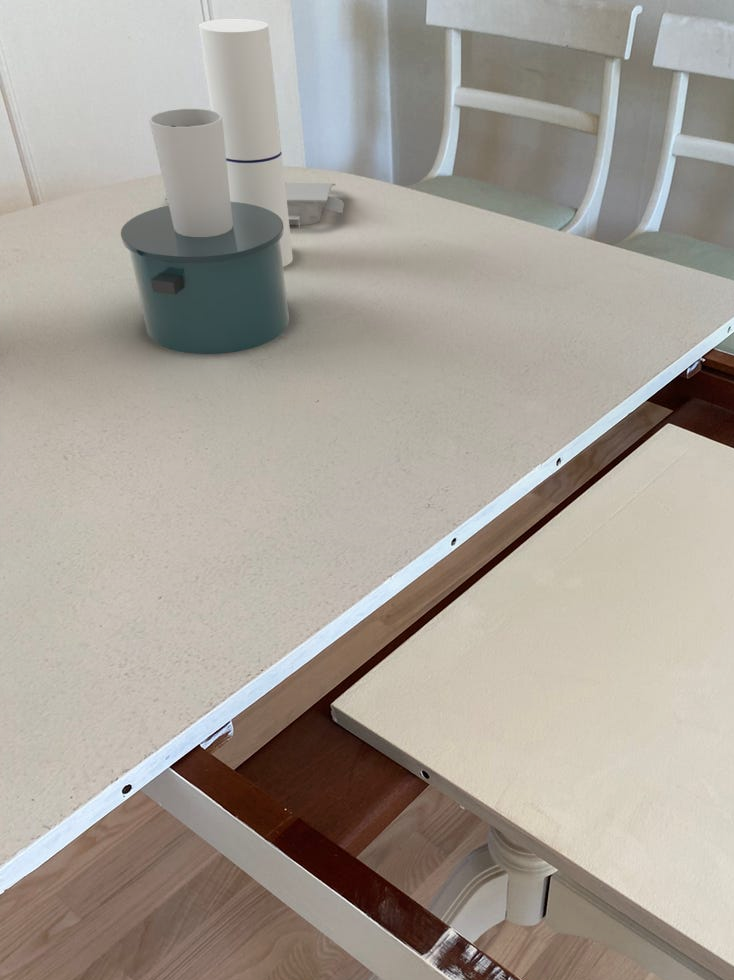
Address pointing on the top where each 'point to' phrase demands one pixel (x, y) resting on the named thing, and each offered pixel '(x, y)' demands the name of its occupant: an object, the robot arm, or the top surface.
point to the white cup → (194, 170)
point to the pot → (210, 281)
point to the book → (309, 202)
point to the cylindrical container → (247, 114)
